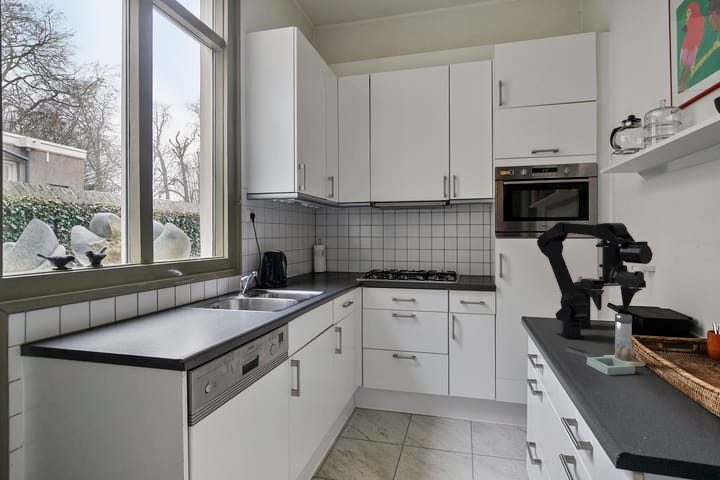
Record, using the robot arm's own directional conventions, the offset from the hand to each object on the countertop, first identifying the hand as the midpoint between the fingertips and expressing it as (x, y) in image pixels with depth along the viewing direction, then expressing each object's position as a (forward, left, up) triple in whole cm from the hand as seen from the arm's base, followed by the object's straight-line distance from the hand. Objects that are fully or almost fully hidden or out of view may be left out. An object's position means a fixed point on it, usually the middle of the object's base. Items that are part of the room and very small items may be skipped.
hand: (612, 309), depth 121 cm
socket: (+15, -13, -13) cm, 24 cm away
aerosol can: (-27, +8, -13) cm, 31 cm away
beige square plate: (+11, -6, -13) cm, 18 cm away
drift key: (+3, -14, -13) cm, 19 cm away
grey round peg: (+11, -6, -12) cm, 17 cm away
